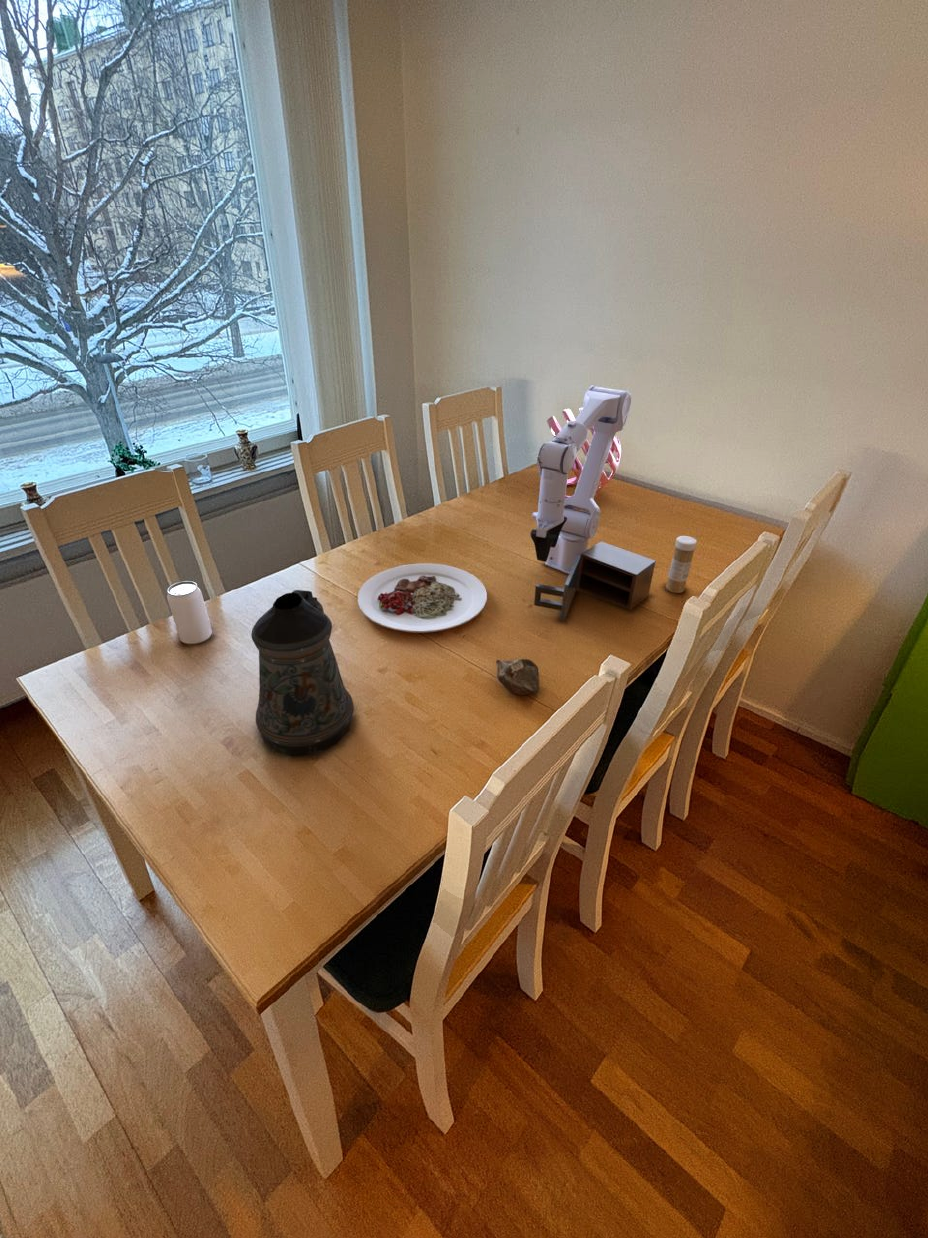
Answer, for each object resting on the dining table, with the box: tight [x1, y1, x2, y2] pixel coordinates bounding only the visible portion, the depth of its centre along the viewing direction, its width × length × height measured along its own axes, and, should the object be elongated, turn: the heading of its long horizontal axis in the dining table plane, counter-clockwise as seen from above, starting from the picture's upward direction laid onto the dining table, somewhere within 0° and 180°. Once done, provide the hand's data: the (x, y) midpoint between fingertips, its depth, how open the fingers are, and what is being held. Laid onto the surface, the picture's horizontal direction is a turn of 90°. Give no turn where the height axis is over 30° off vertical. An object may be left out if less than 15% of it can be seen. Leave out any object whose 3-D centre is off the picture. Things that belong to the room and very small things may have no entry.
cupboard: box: [576, 541, 657, 611], centre depth 141 cm, size 9×15×10 cm, turn 48°
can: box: [166, 580, 213, 645], centre depth 123 cm, size 6×6×12 cm
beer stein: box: [251, 589, 355, 757], centre depth 99 cm, size 16×19×25 cm
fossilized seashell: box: [495, 657, 540, 695], centre depth 113 cm, size 8×7×10 cm
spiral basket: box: [546, 407, 622, 499], centre depth 189 cm, size 28×28×27 cm
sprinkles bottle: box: [665, 535, 698, 594], centre depth 141 cm, size 5×5×14 cm
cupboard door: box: [533, 555, 581, 622], centre depth 137 cm, size 8×15×9 cm, turn 160°
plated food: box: [357, 562, 488, 633], centre depth 138 cm, size 30×30×3 cm
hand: (546, 553), depth 138 cm, fingers open, 7 cm apart
